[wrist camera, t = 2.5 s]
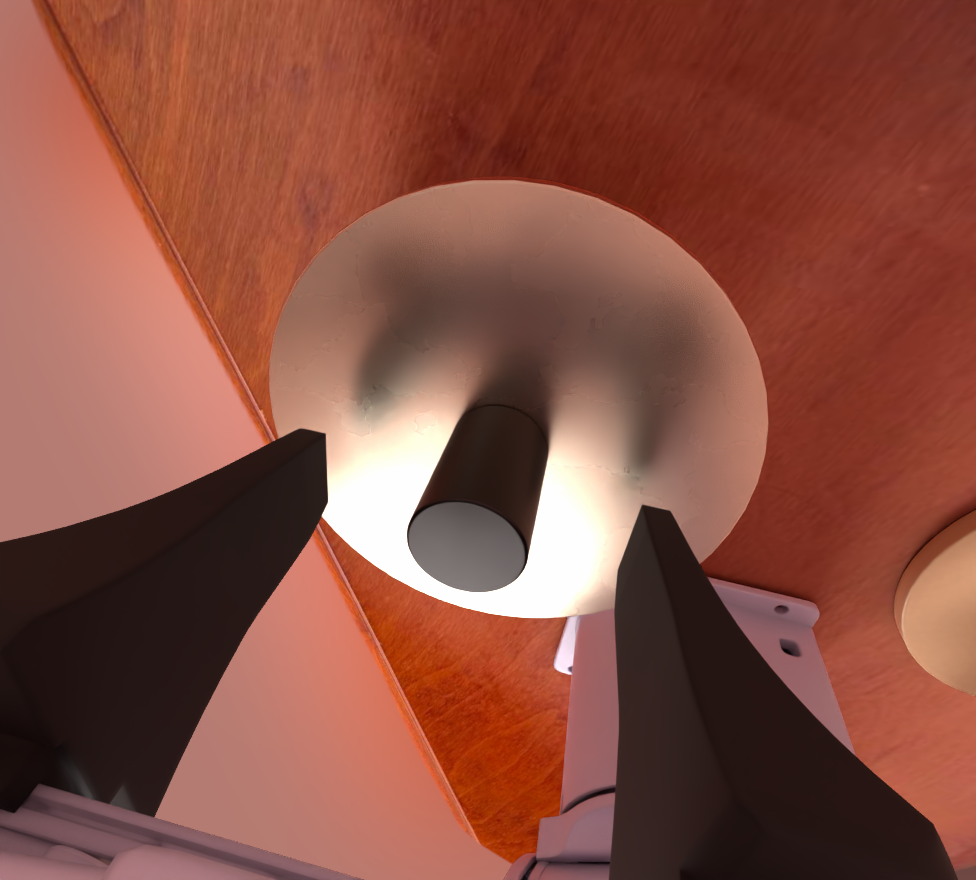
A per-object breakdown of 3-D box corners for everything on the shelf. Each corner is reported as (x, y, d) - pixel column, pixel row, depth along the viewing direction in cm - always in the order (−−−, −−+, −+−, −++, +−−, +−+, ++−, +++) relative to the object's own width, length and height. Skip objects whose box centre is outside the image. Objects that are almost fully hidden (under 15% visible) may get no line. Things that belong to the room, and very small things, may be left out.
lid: (864, 241, 11) (999, 331, 7) (659, 632, 18) (670, 789, 14) (280, 117, 12) (112, 135, 8) (295, 533, 19) (208, 654, 15)
